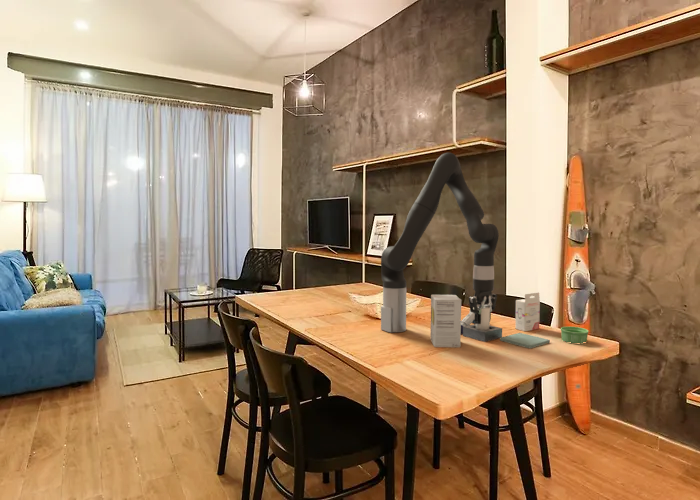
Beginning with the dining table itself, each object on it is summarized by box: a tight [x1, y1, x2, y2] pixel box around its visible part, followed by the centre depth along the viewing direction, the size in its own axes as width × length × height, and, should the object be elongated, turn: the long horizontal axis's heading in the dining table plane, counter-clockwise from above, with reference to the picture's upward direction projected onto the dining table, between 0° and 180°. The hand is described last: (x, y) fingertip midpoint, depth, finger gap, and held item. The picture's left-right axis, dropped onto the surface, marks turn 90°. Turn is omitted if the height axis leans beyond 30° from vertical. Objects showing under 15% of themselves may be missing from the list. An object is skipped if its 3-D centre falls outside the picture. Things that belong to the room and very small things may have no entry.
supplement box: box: [430, 294, 462, 348], centre depth 154 cm, size 10×9×17 cm
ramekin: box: [560, 325, 589, 344], centre depth 157 cm, size 9×9×4 cm
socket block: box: [462, 323, 503, 343], centre depth 163 cm, size 10×10×4 cm
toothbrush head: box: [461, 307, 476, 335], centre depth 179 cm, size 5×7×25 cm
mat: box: [499, 332, 551, 349], centre depth 157 cm, size 12×12×1 cm
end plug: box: [475, 307, 491, 331], centre depth 163 cm, size 5×5×11 cm
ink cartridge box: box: [515, 292, 541, 332], centre depth 174 cm, size 9×5×15 cm, turn 117°
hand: (482, 322), depth 163 cm, fingers closed on end plug, 5 cm apart
